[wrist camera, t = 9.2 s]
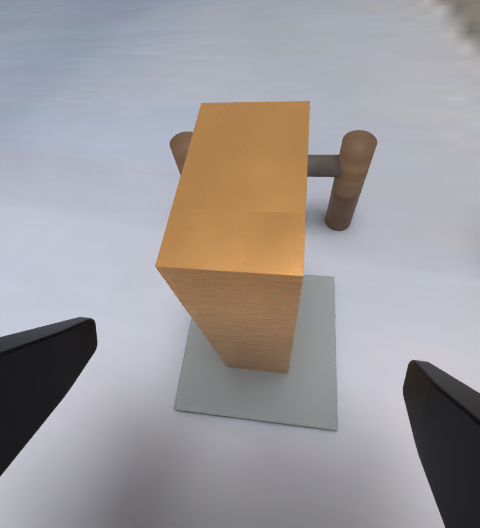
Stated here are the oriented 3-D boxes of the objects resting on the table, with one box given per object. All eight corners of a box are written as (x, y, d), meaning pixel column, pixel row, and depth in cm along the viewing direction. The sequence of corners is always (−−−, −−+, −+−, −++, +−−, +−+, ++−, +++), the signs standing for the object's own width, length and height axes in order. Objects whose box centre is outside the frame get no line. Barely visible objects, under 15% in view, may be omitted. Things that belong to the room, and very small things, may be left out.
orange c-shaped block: (288, 373, 20) (303, 276, 8) (226, 366, 21) (155, 266, 9) (293, 275, 24) (309, 101, 11) (240, 272, 24) (201, 103, 12)
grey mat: (335, 430, 19) (337, 430, 19) (176, 410, 21) (173, 409, 20) (332, 280, 24) (334, 276, 23) (202, 272, 25) (201, 268, 25)
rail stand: (351, 231, 26) (378, 153, 19) (194, 225, 28) (166, 152, 21) (350, 211, 27) (375, 130, 20) (199, 206, 28) (173, 131, 22)
